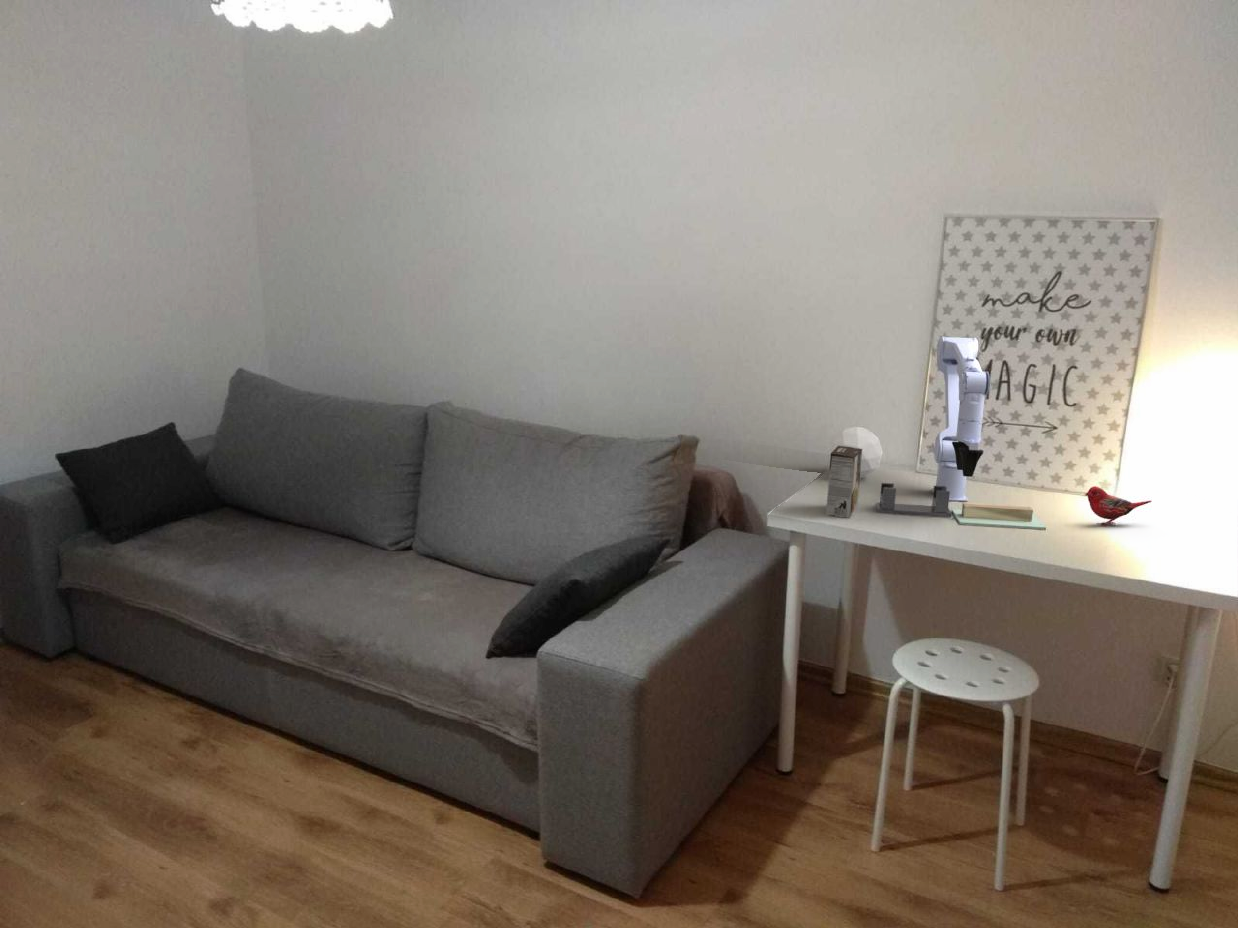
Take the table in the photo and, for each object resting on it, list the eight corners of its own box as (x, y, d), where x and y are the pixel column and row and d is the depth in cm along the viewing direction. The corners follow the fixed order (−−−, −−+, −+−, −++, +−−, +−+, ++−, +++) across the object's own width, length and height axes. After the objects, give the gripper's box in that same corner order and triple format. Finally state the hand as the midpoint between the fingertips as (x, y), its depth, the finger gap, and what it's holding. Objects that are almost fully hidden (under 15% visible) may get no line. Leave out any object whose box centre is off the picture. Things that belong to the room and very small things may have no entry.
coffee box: (833, 505, 245) (837, 445, 241) (858, 509, 242) (863, 448, 238) (824, 515, 237) (829, 452, 233) (850, 518, 234) (855, 455, 230)
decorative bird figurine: (1076, 523, 234) (1082, 484, 231) (1144, 522, 235) (1150, 484, 233) (1083, 527, 231) (1089, 488, 228) (1151, 526, 232) (1158, 487, 230)
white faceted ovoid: (893, 464, 260) (883, 476, 280) (874, 413, 263) (866, 429, 283) (842, 480, 261) (836, 491, 281) (824, 430, 265) (819, 444, 284)
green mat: (951, 511, 242) (951, 509, 242) (1033, 516, 239) (1033, 513, 239) (959, 524, 231) (960, 522, 231) (1045, 529, 228) (1046, 527, 228)
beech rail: (961, 514, 238) (962, 502, 237) (1028, 518, 235) (1029, 506, 235) (963, 517, 235) (965, 506, 234) (1031, 521, 233) (1033, 510, 232)
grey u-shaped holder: (875, 506, 245) (877, 482, 243) (947, 510, 242) (949, 486, 241) (877, 513, 239) (879, 488, 238) (951, 517, 237) (954, 492, 235)
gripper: (948, 414, 243) (942, 466, 246) (959, 423, 229) (953, 478, 232) (976, 416, 242) (971, 467, 245) (989, 425, 228) (983, 479, 231)
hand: (964, 473), depth 238 cm, fingers open, 7 cm apart
